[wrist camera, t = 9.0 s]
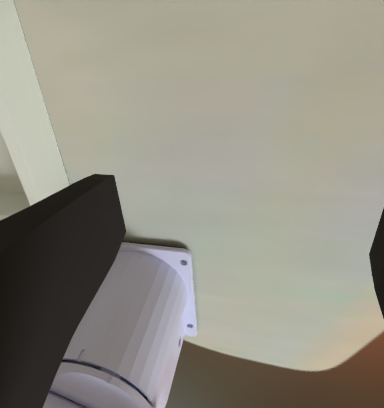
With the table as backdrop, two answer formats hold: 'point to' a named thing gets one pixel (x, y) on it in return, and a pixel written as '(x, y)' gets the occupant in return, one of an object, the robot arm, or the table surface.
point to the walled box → (23, 125)
